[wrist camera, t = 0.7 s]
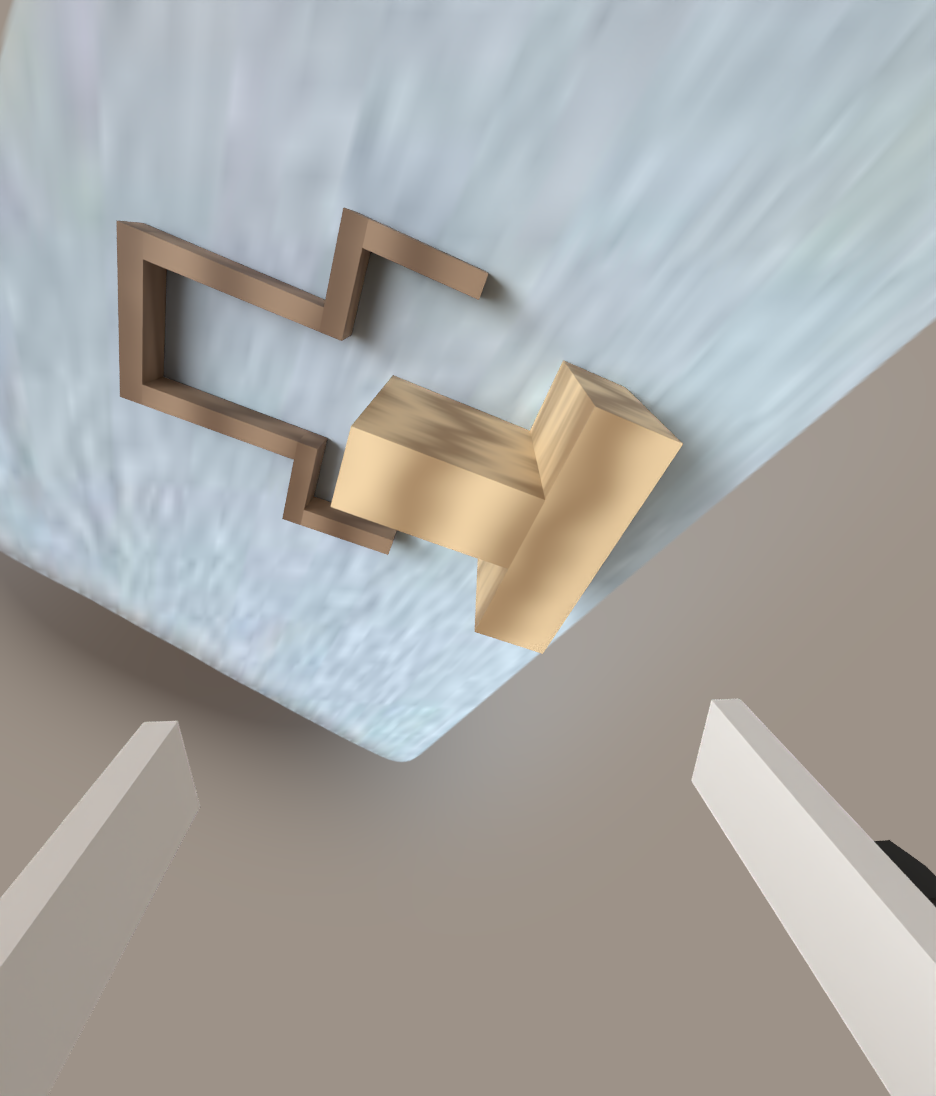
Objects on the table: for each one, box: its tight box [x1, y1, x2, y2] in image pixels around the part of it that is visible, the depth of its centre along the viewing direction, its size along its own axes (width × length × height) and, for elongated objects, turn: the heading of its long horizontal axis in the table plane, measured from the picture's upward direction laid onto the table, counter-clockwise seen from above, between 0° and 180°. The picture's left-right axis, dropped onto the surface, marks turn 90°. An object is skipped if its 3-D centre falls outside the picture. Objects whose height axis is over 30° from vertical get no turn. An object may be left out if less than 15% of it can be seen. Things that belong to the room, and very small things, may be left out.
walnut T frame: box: [117, 208, 488, 555], centre depth 33 cm, size 22×22×2 cm
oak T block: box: [331, 360, 683, 653], centre depth 31 cm, size 16×16×12 cm
